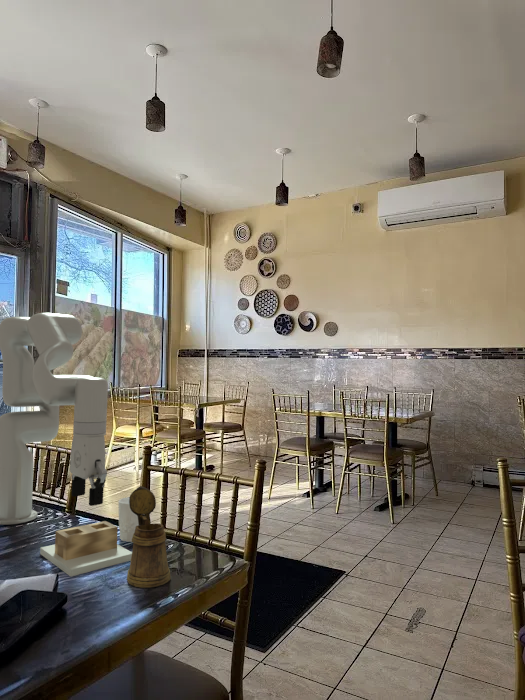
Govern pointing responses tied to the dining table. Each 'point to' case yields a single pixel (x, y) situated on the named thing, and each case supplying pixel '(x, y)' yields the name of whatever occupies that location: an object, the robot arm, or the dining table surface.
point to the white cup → (126, 520)
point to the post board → (87, 560)
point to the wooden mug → (147, 544)
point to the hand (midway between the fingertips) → (86, 500)
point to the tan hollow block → (85, 540)
